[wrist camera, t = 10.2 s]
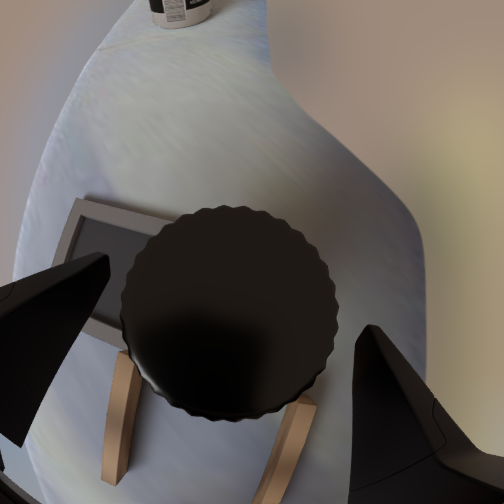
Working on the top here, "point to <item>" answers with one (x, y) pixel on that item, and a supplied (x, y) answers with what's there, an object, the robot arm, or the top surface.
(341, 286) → the top surface
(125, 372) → the channel
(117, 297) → the trap pit
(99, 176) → the top surface
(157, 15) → the supplement can
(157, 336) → the supplement bottle
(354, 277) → the top surface
